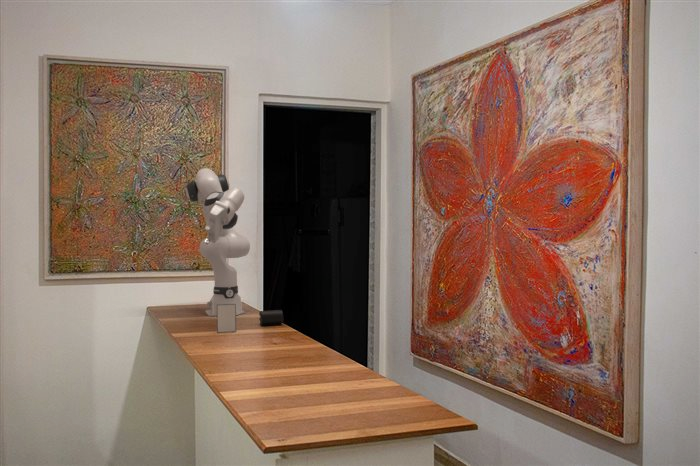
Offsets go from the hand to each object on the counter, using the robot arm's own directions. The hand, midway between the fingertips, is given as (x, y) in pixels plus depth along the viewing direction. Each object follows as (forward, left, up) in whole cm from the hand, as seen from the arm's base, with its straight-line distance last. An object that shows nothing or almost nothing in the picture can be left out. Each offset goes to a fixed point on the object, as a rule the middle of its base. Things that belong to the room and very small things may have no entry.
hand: (206, 236), depth 319 cm
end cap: (+2, +29, -41) cm, 50 cm away
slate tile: (+9, +6, -41) cm, 42 cm away
